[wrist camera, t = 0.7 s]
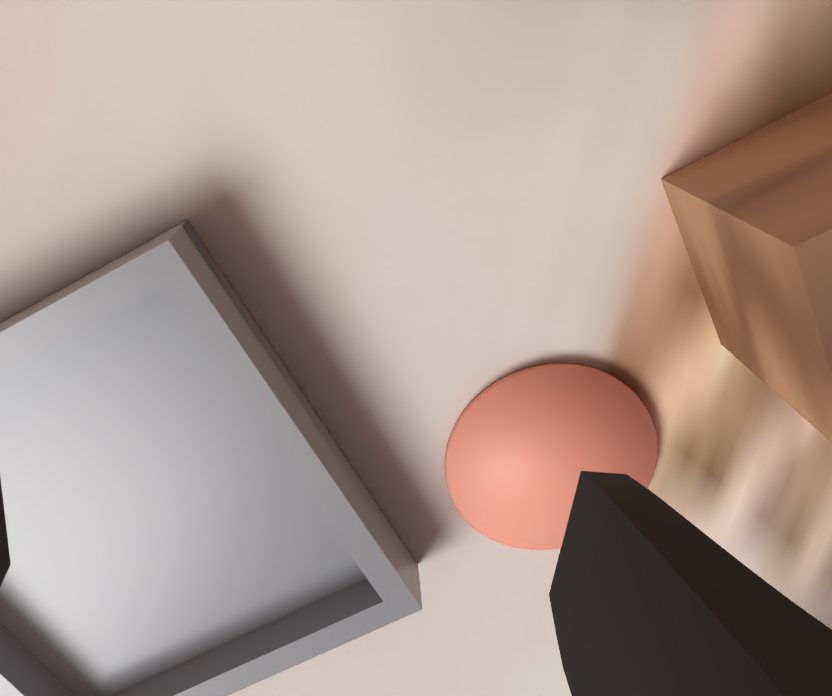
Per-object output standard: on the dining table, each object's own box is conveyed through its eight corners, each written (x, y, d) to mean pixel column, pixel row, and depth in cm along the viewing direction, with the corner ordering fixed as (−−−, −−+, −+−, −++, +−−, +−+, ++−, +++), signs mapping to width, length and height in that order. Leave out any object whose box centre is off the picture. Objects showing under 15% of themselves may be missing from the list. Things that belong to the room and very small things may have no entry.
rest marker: (681, 491, 21) (686, 497, 21) (498, 572, 22) (499, 579, 22) (610, 325, 19) (613, 330, 19) (407, 423, 20) (408, 429, 20)
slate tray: (417, 565, 22) (422, 609, 20) (88, 714, 23) (68, 766, 22) (187, 219, 17) (168, 240, 15) (-205, 435, 19) (-260, 474, 17)
